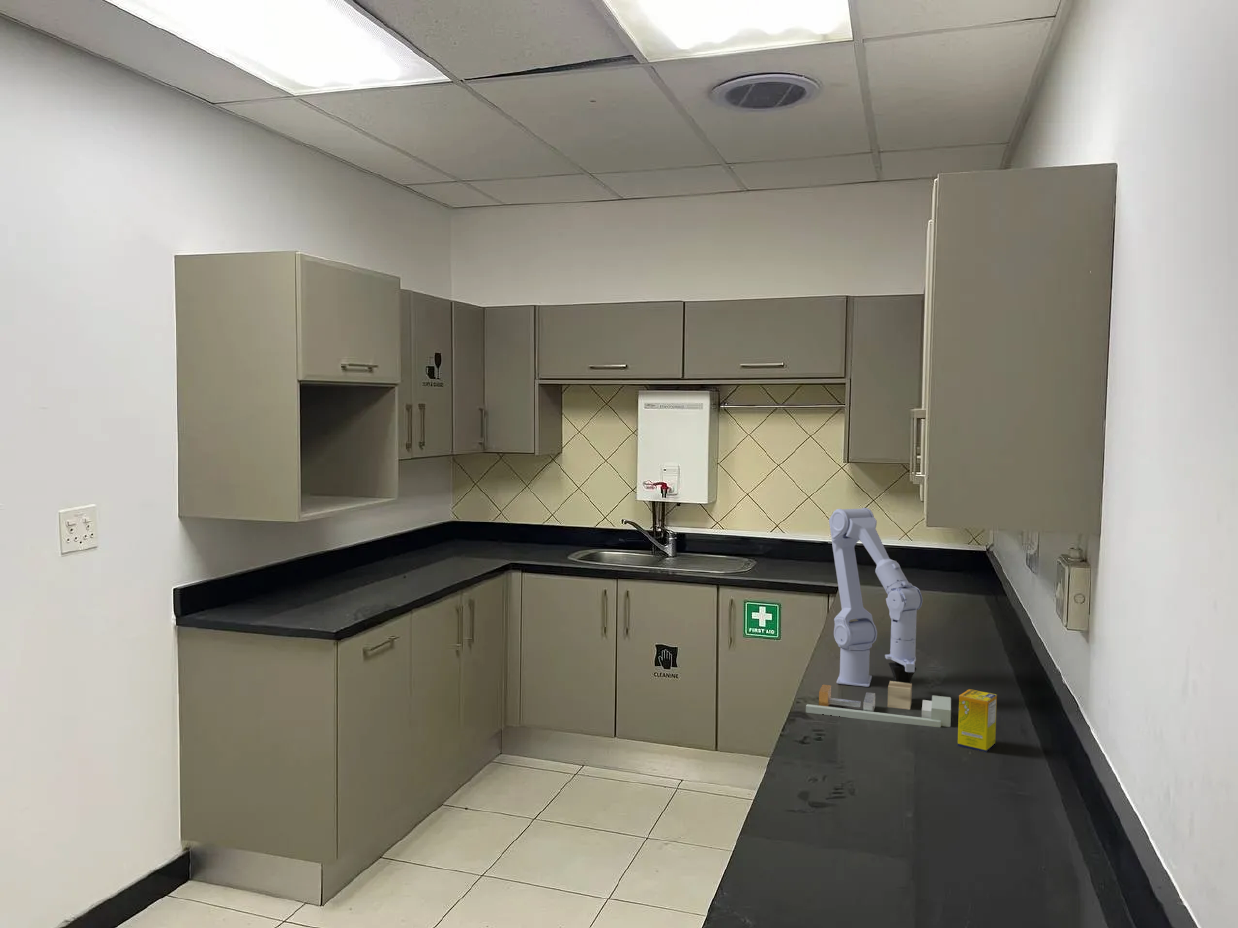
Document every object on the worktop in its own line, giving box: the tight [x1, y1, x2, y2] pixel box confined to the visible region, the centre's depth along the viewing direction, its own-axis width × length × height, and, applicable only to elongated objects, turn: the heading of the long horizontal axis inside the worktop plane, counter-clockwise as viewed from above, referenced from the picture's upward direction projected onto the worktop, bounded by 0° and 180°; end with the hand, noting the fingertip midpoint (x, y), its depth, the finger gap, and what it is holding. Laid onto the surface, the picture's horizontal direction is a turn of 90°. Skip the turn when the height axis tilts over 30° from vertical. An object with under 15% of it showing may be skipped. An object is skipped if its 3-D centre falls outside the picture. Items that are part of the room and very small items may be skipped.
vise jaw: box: [818, 684, 876, 712], centre depth 213 cm, size 8×12×4 cm, turn 70°
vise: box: [805, 695, 952, 728], centre depth 210 cm, size 11×31×4 cm, turn 70°
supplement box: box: [957, 688, 998, 753], centre depth 189 cm, size 6×6×11 cm
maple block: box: [887, 680, 913, 710], centre depth 216 cm, size 5×5×5 cm
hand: (901, 693), depth 220 cm, fingers closed
